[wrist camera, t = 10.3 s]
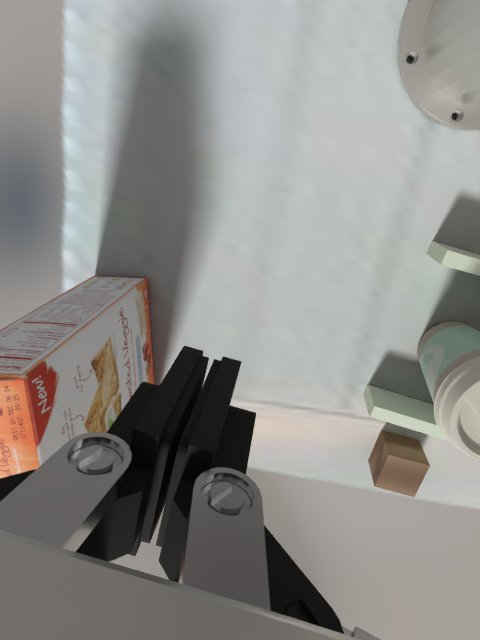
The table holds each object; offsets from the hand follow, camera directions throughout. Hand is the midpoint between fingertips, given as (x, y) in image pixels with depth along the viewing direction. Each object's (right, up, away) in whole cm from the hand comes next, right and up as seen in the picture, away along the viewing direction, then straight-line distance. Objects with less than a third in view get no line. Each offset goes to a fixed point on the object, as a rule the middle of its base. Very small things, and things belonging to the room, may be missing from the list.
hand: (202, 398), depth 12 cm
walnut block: (+17, -12, +33) cm, 39 cm away
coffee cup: (+21, -1, +28) cm, 35 cm away
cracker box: (-10, 0, +33) cm, 34 cm away
